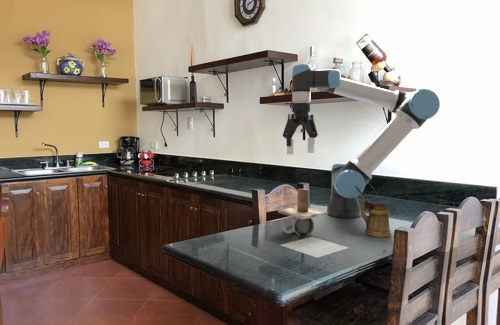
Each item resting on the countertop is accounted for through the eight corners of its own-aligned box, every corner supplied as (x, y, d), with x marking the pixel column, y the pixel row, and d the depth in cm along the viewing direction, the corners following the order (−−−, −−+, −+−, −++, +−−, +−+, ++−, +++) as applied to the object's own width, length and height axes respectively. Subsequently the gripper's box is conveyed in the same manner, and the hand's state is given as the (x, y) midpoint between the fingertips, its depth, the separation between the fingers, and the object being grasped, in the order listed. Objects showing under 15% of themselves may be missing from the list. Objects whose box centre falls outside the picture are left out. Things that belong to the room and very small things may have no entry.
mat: (312, 238, 143) (312, 236, 143) (349, 249, 131) (349, 247, 131) (279, 246, 132) (279, 245, 132) (317, 259, 120) (317, 257, 120)
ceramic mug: (309, 230, 153) (309, 210, 152) (314, 236, 145) (314, 215, 144) (281, 231, 152) (281, 211, 151) (285, 237, 144) (285, 216, 143)
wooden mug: (351, 230, 155) (353, 184, 153) (388, 231, 153) (390, 185, 151) (354, 236, 146) (356, 187, 144) (393, 238, 144) (395, 188, 142)
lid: (302, 208, 157) (303, 185, 156) (327, 214, 146) (328, 190, 146) (277, 212, 149) (278, 188, 148) (302, 219, 138) (303, 193, 138)
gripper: (312, 104, 178) (311, 151, 180) (274, 101, 161) (273, 154, 163) (326, 103, 173) (325, 152, 175) (288, 101, 155) (287, 155, 157)
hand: (300, 153), depth 169 cm, fingers open, 13 cm apart
